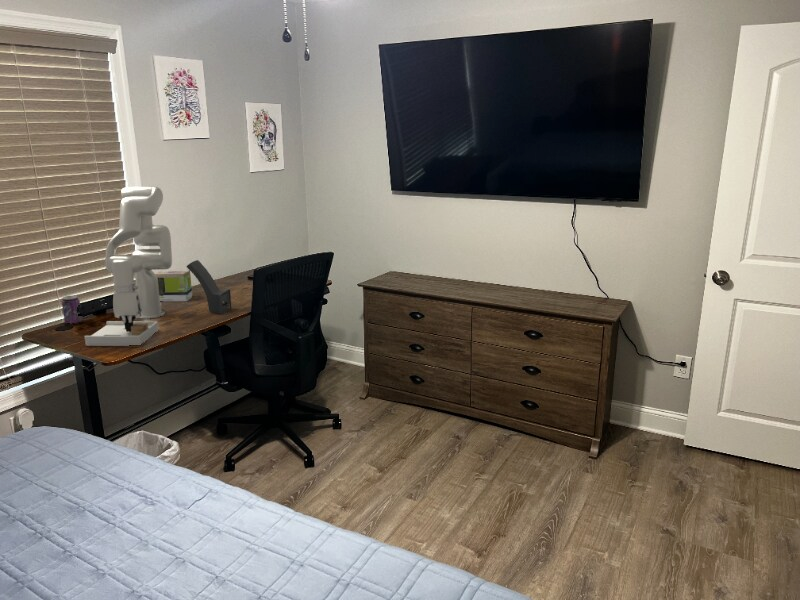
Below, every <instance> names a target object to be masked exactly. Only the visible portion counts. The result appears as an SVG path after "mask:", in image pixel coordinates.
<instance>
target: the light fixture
mask: <svg viewBox="0 0 800 600" xmlns="http://www.w3.org/2000/svg"><path fill="white" fill-rule="evenodd" d="M186 268H187V270H190V273H192V274H193V276H195V278H196V280H197V281H198V283H199V284H200V287H202V290H203V291H204V294H205V297H206V300H207V307H208V311H209V312H208V313H209V314H213V313H215V314H216V313H217V314H218V313H219V315H224V314H225V313H227V312H229V311H230V310H231V309H232V298H231V290H230V288H229V289H228V288H227V289H225V290H222V289H220V288H219V287H218V285H217V283H216V282H215V279H214V278H213V277H212V275H211V274H210V273H209V271H208V269H207V268H206V266H204V265H203V264H202V262H200V260H198V259H196V260H194V261H191V262H190V263H188V264H187V265H186ZM229 309H230V310H229Z"/></svg>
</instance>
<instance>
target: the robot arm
mask: <svg viewBox="0 0 800 600" xmlns="http://www.w3.org/2000/svg"><path fill="white" fill-rule="evenodd" d="M120 196H121V201H120V206H119V224H118V231H117V232H116V233H115V234H114V235H113V236H112V237H111V238H110V239H109V241H108V243H107V245H106V249H105V268H106V270H107V271H108V272H109V273H111V274H112V276H113V278H112V279H113V284H114V291H113V297H112V307H113V315H114V317H115V318H117V319H120V320H121V321H123V322H124V324H125V329H126V332H128V331H129V332H131V326H133V321H135V320H136V319H140V320H141V319H143V320H150V318H151V319H156V318H160V316H161V317H162V316H164V315H165V310H163V309H161V308H162V307H161V306H162V305H163V302H160V297H159V287H158V278H157V276H156V275H155V274H156V273H155V272H154V271H155V270H160V271H161V270H170V268H171V267H172V265H173V256H172V255H173V253H172V237H171V233H170V229H169V228H168V227H167V226H166V225H163V224H161V225H160V224H157V225H155V224H153V216H156V215H157V213H158V211H159V209H160V207H161V206H162V203H163V200H164V194H163V191H162V189H161V188H159V187H158V186H127V187H126V186H125V187H123V188H121V191H120ZM132 239H133V242H134V244H135V245H137V246H139V247H159V248H141V249H139V248H138V249H135V250H134V251H133V252H132V253H131V254H116V252H117V249H118V248H119V246H121V245H122V244H124V243H126V242H128V241H129V240H132Z"/></svg>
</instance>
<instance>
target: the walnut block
mask: <svg viewBox="0 0 800 600" xmlns="http://www.w3.org/2000/svg"><path fill="white" fill-rule="evenodd" d="M146 329H148V323H135V324H134V325H133V326H131V333H132V335H140V334H141V333H143V332H144V331H145V330H146Z"/></svg>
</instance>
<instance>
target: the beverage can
mask: <svg viewBox="0 0 800 600" xmlns="http://www.w3.org/2000/svg"><path fill="white" fill-rule="evenodd" d="M61 299H62V301H61V305H62V314H63V319H64V323H65V324H67V323H70V324H69V325H73V324H72V323H77V324H79V323H78V322H80V323H81V322H82V321H83V315H82V316H78V315H77V314H76V313H77V307H78V305H80V306H81V302H80V298H79V296H78V295H75V294H74V295H72V294H71V295H65V296H63V297H62V298H61Z"/></svg>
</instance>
